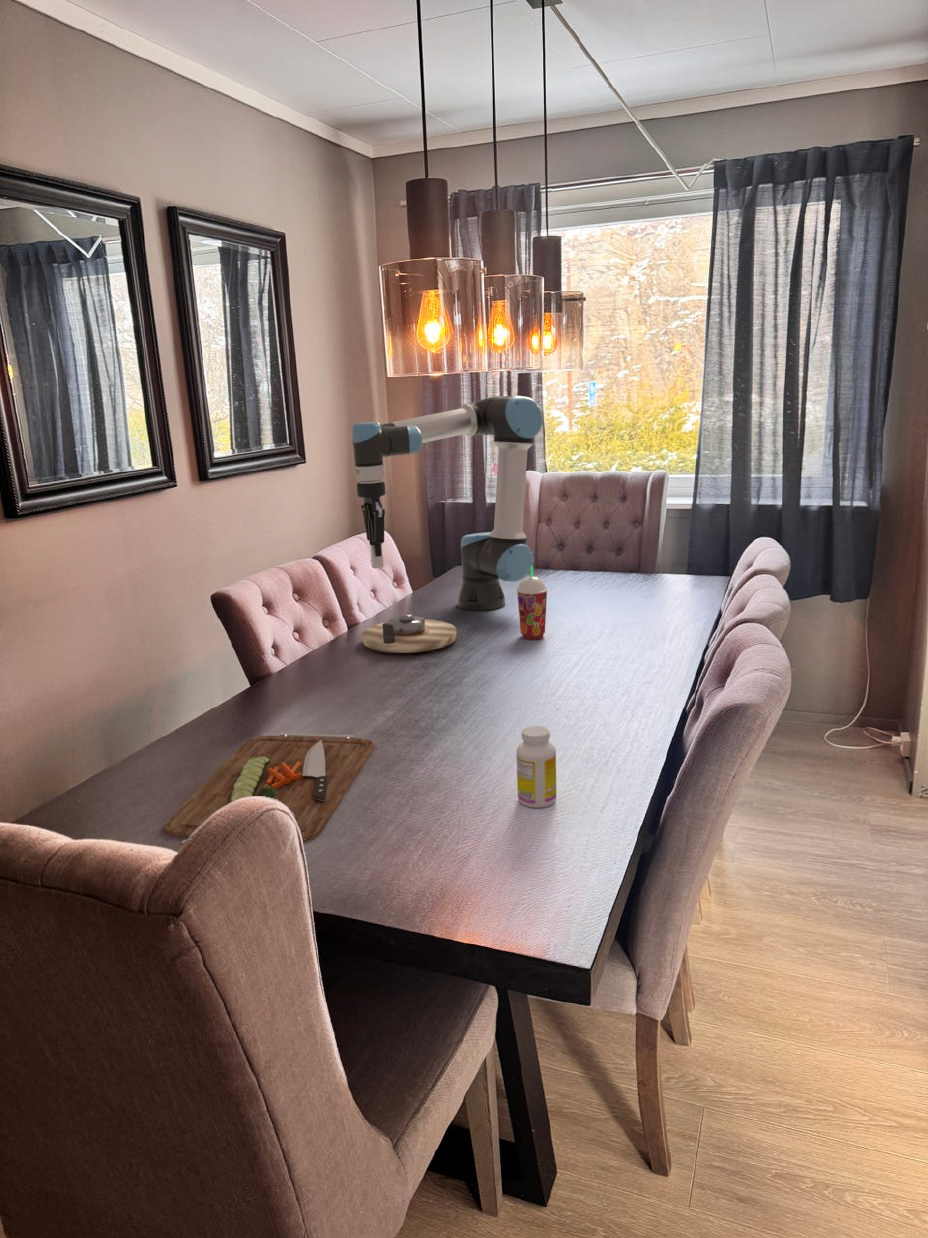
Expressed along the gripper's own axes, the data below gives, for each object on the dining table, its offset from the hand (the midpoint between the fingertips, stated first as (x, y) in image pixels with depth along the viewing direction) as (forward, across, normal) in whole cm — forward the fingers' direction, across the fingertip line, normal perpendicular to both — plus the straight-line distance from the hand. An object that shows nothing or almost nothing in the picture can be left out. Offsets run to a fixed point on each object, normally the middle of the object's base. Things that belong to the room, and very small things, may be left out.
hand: (377, 567), depth 244 cm
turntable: (+20, +6, +5) cm, 22 cm away
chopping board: (+20, +78, -48) cm, 94 cm away
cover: (+18, +6, +5) cm, 19 cm away
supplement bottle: (+20, +106, -10) cm, 108 cm away
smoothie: (+22, +19, +37) cm, 47 cm away
